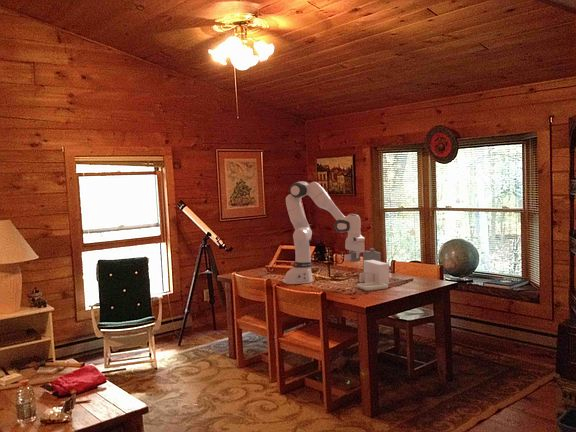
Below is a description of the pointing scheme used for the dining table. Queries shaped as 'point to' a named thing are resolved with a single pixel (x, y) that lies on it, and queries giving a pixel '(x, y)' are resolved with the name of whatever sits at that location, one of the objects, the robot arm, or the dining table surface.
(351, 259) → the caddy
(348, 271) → the dining table surface
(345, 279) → the dining table surface
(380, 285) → the sage tray
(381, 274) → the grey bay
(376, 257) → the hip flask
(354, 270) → the dining table surface
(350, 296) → the dining table surface
